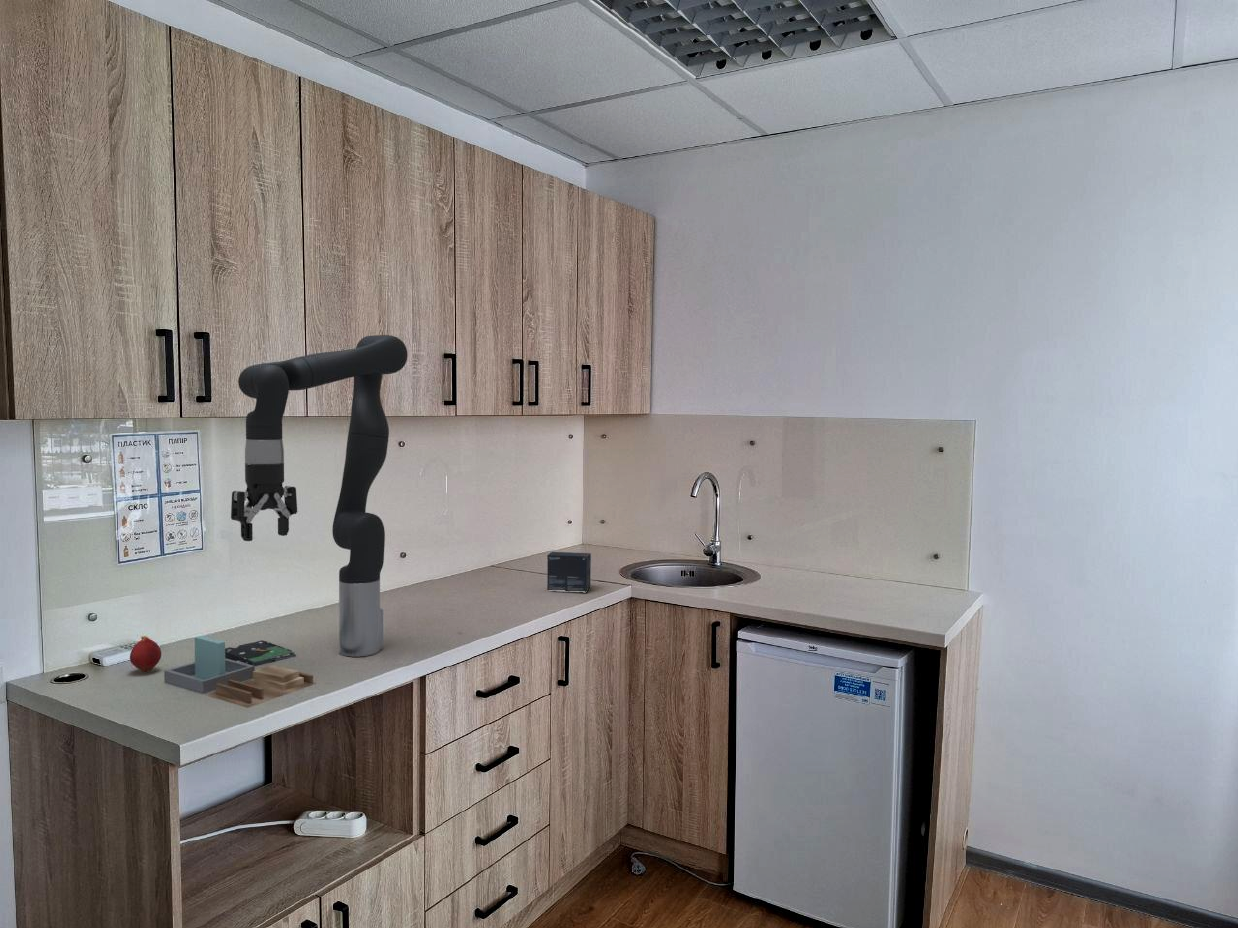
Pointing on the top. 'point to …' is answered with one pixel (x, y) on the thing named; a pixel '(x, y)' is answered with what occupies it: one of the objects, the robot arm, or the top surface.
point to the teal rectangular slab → (209, 657)
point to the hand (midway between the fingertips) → (265, 538)
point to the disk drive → (258, 653)
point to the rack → (253, 691)
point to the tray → (185, 678)
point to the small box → (568, 571)
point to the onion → (145, 654)
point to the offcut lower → (278, 685)
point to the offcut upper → (276, 674)
